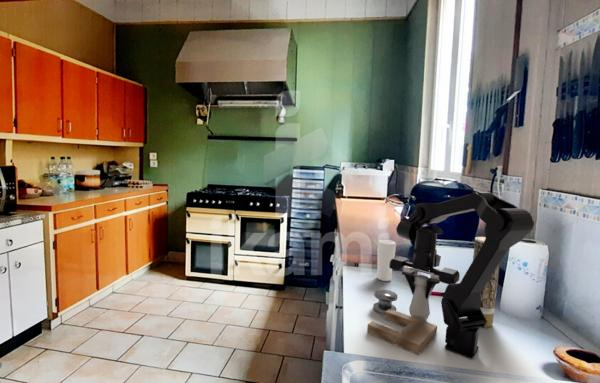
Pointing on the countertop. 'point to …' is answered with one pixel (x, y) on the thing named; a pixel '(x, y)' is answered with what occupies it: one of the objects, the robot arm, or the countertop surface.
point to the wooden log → (487, 288)
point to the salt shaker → (420, 299)
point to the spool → (384, 301)
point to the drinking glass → (385, 259)
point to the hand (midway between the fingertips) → (420, 297)
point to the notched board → (404, 331)
